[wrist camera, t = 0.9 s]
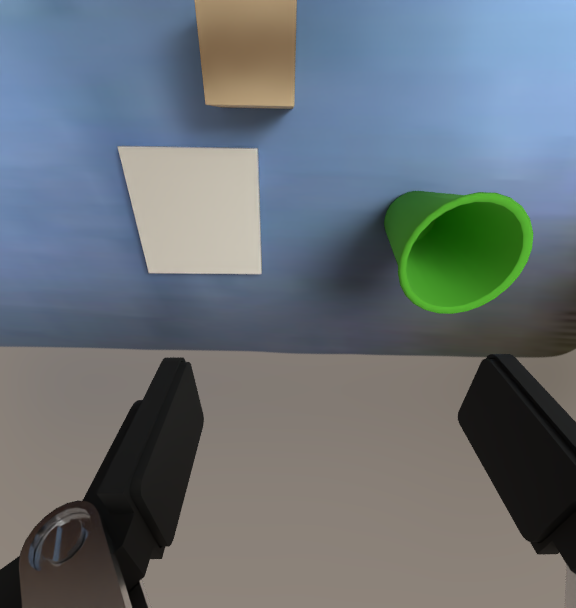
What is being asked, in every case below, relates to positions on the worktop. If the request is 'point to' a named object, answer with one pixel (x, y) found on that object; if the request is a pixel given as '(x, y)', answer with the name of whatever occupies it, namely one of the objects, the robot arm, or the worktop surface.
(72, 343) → the worktop surface
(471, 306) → the cup
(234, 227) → the panel
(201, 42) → the block
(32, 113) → the worktop surface
